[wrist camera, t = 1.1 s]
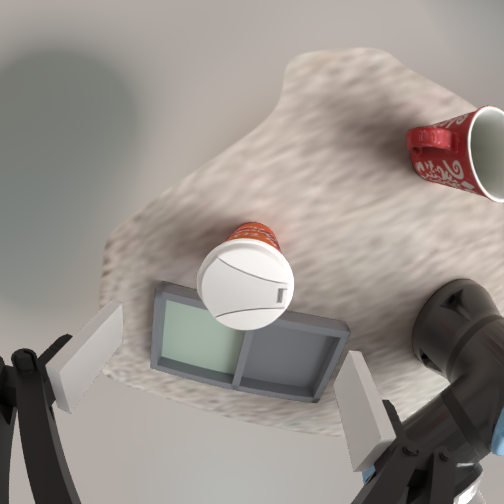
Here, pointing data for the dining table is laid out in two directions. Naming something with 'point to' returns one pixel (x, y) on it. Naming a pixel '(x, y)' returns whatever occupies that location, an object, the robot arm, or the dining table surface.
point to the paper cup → (246, 279)
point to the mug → (463, 152)
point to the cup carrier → (244, 348)
